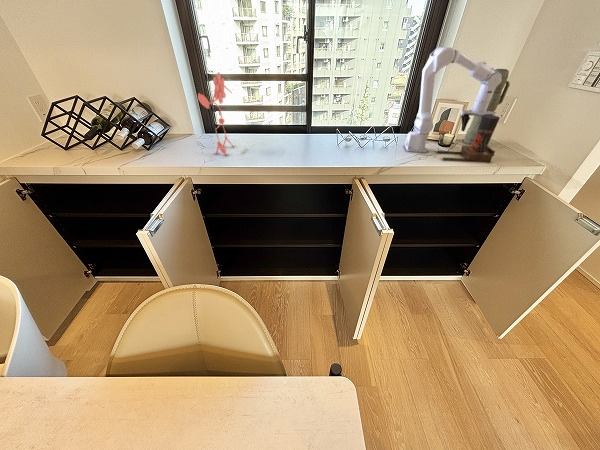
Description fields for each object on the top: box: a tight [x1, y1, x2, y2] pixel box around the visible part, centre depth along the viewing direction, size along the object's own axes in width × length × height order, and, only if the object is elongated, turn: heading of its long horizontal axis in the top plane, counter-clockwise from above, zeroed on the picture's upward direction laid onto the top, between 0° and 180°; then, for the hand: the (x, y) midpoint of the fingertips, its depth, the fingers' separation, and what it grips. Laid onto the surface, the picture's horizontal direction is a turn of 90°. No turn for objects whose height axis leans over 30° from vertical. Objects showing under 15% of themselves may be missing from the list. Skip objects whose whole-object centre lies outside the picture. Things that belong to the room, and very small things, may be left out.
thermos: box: [463, 68, 511, 146], centre depth 132 cm, size 9×12×35 cm
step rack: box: [436, 145, 496, 163], centre depth 124 cm, size 21×10×5 cm, turn 82°
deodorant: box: [471, 115, 501, 152], centre depth 118 cm, size 6×6×15 cm
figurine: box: [197, 72, 248, 159], centre depth 122 cm, size 15×26×35 cm, turn 172°
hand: (470, 131), depth 127 cm, fingers open, 7 cm apart
